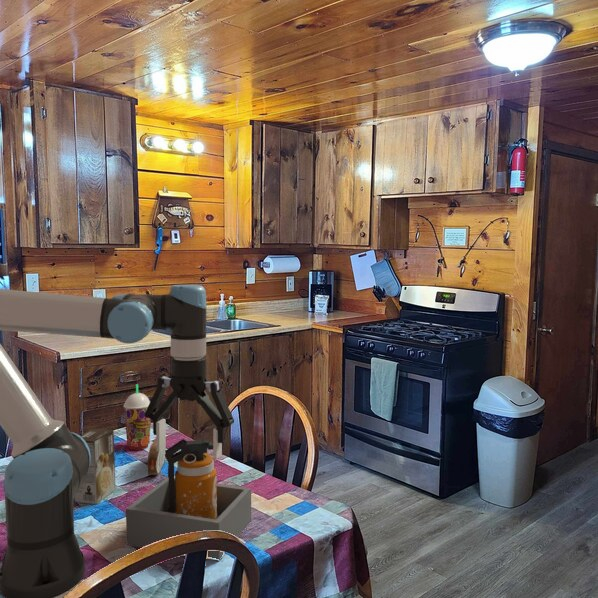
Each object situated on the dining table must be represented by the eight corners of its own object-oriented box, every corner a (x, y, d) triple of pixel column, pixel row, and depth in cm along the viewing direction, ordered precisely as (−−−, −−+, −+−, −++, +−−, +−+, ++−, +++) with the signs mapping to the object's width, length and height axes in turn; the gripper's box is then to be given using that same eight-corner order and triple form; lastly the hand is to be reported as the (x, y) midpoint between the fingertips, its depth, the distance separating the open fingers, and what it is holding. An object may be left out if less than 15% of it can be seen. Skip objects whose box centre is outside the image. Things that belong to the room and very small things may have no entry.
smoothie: (137, 453, 177) (135, 389, 175) (118, 448, 181) (117, 385, 180) (158, 445, 184) (156, 383, 182) (139, 440, 188) (138, 380, 186)
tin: (157, 459, 172) (157, 431, 172) (168, 459, 173) (167, 431, 172) (146, 480, 157) (145, 450, 157) (158, 480, 158) (157, 450, 157)
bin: (219, 561, 118) (219, 523, 117) (126, 545, 124) (125, 508, 123) (251, 521, 134) (251, 488, 133) (168, 509, 140) (167, 477, 140)
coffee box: (93, 487, 153) (92, 427, 151) (116, 489, 152) (114, 429, 150) (73, 502, 144) (71, 439, 142) (97, 504, 143) (95, 441, 141)
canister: (217, 535, 126) (217, 445, 124) (165, 540, 124) (163, 448, 122) (216, 516, 134) (215, 432, 133) (166, 520, 132) (165, 434, 130)
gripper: (249, 357, 125) (248, 454, 127) (146, 350, 132) (147, 441, 134) (235, 364, 118) (235, 466, 120) (127, 356, 125) (129, 452, 127)
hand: (188, 453), depth 127 cm, fingers open, 13 cm apart
